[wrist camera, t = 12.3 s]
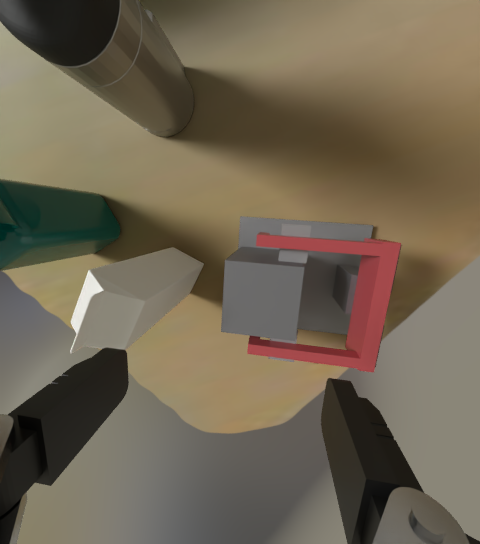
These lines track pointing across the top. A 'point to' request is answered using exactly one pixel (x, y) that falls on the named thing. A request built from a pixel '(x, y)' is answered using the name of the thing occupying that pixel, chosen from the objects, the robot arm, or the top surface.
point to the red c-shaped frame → (365, 310)
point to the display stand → (290, 281)
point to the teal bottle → (51, 224)
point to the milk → (131, 297)
